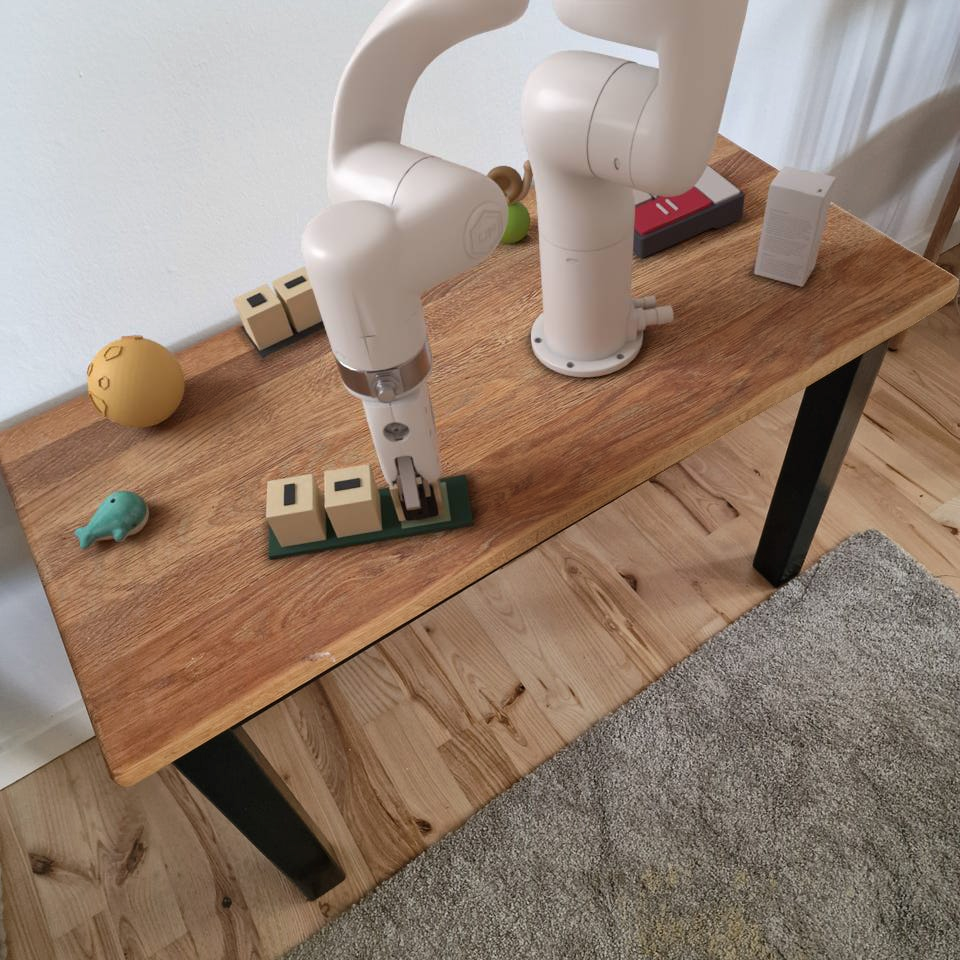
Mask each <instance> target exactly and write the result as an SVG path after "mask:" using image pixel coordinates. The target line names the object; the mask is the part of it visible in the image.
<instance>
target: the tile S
mask: <svg viewBox="0 0 960 960" xmlns="http://www.w3.org/2000/svg"><path fill="white" fill-rule="evenodd" d="M440 479H441V476H440V477H439V479H438V480H433V481H429V486H433V490H434V494H435V498H436V502H437V507H438V512H439V514H438V515H440V514H444V505H443V498H442V490H441V482H440ZM416 481H417V484H422V480H421V477H417V478H416ZM389 487H390V492H391V496H392V499H393V502H394V505H395V509H396V512H397V515H398V519H399V521H404V520H405V517H404V513H403V510H402V507H401V503H400V500H399V496H398V487H397V484H394V487H392V486H391V485H389V484H388V488H389Z"/></svg>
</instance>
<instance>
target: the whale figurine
mask: <svg viewBox="0 0 960 960" xmlns="http://www.w3.org/2000/svg"><path fill="white" fill-rule="evenodd" d="M149 515H150V512H149V506H148V505H147V503H146V501H144V499H143V498H142V497H141V496H140V494H138V493H135V492H133V491H131V490H118V491H115V492H112V493H110V494H109V495H108V496H107V497H106V498H105V499H104V501H102V502H101V503H99V507H98V509H97V510H96V511H95V513H94V514H93V516H92V517H91V519H90V521H89V522H88V524H87V525H85V526H81V527H80V526H79V527H78V528H76V529H75V531H74V536H75V538H77V539H78V540H79V547H80V549H81V550H83V551H87V550H88V549H90V548H92V547H93V545H94V544H95V543H96V542H98V541H108V540H114V541H115V542H117V543H122V542H124V541H125V540H126V539H127V538H128V537H129V536H134V535H135V534H138V533H139V532H140V531H142V530H143V529H144V527H145V526H146V524H147V522H148V520H149V518H150V517H149Z"/></svg>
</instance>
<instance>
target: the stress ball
mask: <svg viewBox="0 0 960 960" xmlns="http://www.w3.org/2000/svg"><path fill="white" fill-rule="evenodd" d="M86 376H87V379H86V380H87V382H86V383H87V389H88V396H89V397H88V398H89V399H90V402H91V403H92V405H93V406H94V408H95V410H96V411H98V413H99V414H100V415H101V416H103V417H106V418H107V419H108V420H109V421H111V422H112V423H114V424H116V425H121V426H124V427H129V428H135V429H138V428H148V427H152V426H155V425H158V424H160V423H162V422H164V421H166V420H167V419H168V418H170V417H171V416H172V415H174V413H175V411H176V410H177V409H178V408H179V406H180V404H181V402H182V400H183V397H184V394H185V385H186V382H185V375H184V372H183V368H182V366H181V364H180V362H179V360H178V359H177V358H176V356H175V355H174V354H173V353H172V352H171V351H170V350H169V349H168V348H167V347H165V346H164V345H162V344H161V343H159V342H157V341H155V340H152V339H150V338H145V337H144V336H143V335H140V334H139V335H138V334H134V335H121V336H120V338H119V339H116V340H114V341H111V342H109V343H108V344H106V345H104V346H103V347H102V348H101V349H100V350H99V351H98V352H97V353H96V354H95V356H94V357H93V359H92V360H91V362H90V363H89V365H88V366H87V370H86Z"/></svg>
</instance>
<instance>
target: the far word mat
mask: <svg viewBox="0 0 960 960" xmlns="http://www.w3.org/2000/svg"><path fill="white" fill-rule="evenodd" d="M271 285H272V287H273V290H274V291H273V290H272V289H271V287H270V286H269V285H268V284H267V283H265V284H263V285H261V286H259V287H257V288H254V289H252V290H250V291H247V292H245V293H243V294H240V295H239V296H237V297H234V298H232V301H233V303H234V306H235V308H236V311H237V313H238V316H239V318H240V320H241V323H242V326H240V329H241V330H242V332H243V333H244V335H245V336H246V338H247V340H249V342H250V343H251V345H252V346H253V347H254V349H255V350H256V352H257V353H258V355H259V356H260V357H261V358H262V359H264V358H265V357H268V356H270V355H272V354H274V353H277V352H278V351H281V350H283V349H285V348H286V347H289V346H291V345H292V344H293V345H294V343H297V342H299V341H301V340H303V339H305V338H308V337H309V336H311V335H313V334H315V333H318V332H320V331H322V330H324V329H325V326H324V323H323V320H322V317H321V314H320V311H319V307H318V304H317V301H316V298H315V295H314V292H313V289H312V286H311V283H310V280H309V276H308V273H307V270H306V267H305V266H302V267H300V268H298V269H295V270H293V271H292V272H289V273H287V274H285V275H283V276H280V277H278V278H276V279H274V280H272V281H271Z"/></svg>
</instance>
